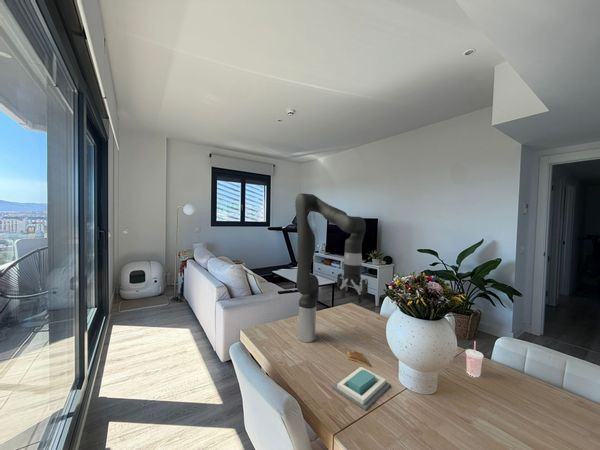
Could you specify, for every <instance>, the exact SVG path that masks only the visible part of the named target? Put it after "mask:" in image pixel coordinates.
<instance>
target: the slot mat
mask: <svg viewBox="0 0 600 450" xmlns="http://www.w3.org/2000/svg"><path fill="white" fill-rule="evenodd" d="M363 370H366V371H368V372H369V373H371V374H373V375H375V384H374V385H373V386H371V387H370V388H369V389H367V390H366V391H365V392H363V393H362V394H361V395H360V394H358V393H356V392H355V391H353V390H351V389H350V388H348V380H349V379H351V378H352V377H354V376H355V375H357V374H358V373H360V372H361V371H363ZM391 386H392V385H391V384H390V383H389V382H388V381H387V379H386V378H383V377H382V376H380V375H378V374H376V373H374V372H373V371H370V370H369V369H366V368H364V367H363V366H360V367H357V368H356V369H354V370H353V371H352V372H350V374H348V375H346V376H345V377H344V378H342V379H341V380H339V381H338V382H337V383H336V384H335V385H332V387H331V389H332V390H333V391H335V392H336V393H338V394H339V395H341V396H342V397H344V398H346V399H347V400H349V401H350V402H351V403H353V404H354V405H355V406H358V407H359V408H361V409H363V411H367V409H369V408H370V407H371V406H372V405H373V403H374V402H376V401H377V400H378V399H379V398H380V397H381V396H382V395H383V394H384V393H385V392H386V391H387V390H388V389H389V388H391Z"/></svg>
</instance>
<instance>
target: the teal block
mask: <svg viewBox="0 0 600 450" xmlns="http://www.w3.org/2000/svg"><path fill="white" fill-rule="evenodd" d="M368 371H369V370H368ZM368 371H366V370H363V371H361V372H360V373H358V374H357V375H355V376H354V377H352V378H351V379H349V380H348V388H350V389H351V390H353V391H355V392H356V393H358V394H360V395H361V394H362V393H363V392H365V391H366V390H367V389H369V388H370V387H371V386H373V385H374V384H375V375H373V374H371V373H369V372H368Z"/></svg>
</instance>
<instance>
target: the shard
mask: <svg viewBox="0 0 600 450" xmlns="http://www.w3.org/2000/svg"><path fill="white" fill-rule="evenodd" d="M347 355H348V359H347V360H350V361H354V362H356V363H359V364H360V365H363V366H366V367H371V363H370V362H369V361H368V360H367V358H366V357H365V354H363V353H362V352H361V351H359V350H353V351H352V350H350V351H349V350H348V351H347Z"/></svg>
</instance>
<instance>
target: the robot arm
mask: <svg viewBox="0 0 600 450" xmlns="http://www.w3.org/2000/svg"><path fill="white" fill-rule="evenodd" d="M294 203H295V205H294V207H295V216H296V226H297V227H296V228H297V230H296V231H297V234H296V235H297V240H296V241H297V245H296V246H297V247H296V248H297V270H296V271H297V273H296V289H297V291H298V293H299V294H301V297H300V298H299V299H298V315H297V316H298V317H297V318H296V335H295V336H296V337H297V339H298V340H299V341H300V342H303V343H311V342H314V341H315V340H316V329H317V327H316V326H317V325H316V324H317V303H318V299H319V292H320V283H319V279H318V277H317V276H316V275H315V274H313V273H311V267H312V262H313V260H314V256H315V254H316V236H315V233H314V230H313V229H312V227H311V225H310V222H309V219H308V213H310V212H313V213H318V214H320V215H321V216H322V217H323V218H324V219H325V220H327V221H328V222H330V223H332V224H334V225H335V226H337V227H338V228H340V230H342V231H343V232H344V233H347V234H350V236H349V237H348V238H346V239H345V242H344V255H343V272H340V273H338V274H337V279H336V281H337V282H336V287H337V288H339V289H340V297H341V298H342V299H345V298H346V292H347V291H346V290H347V289H346V287H351V288H354V289H355V291H357V293H358V294H357V303H358V304H361V303H362V302H363V301H364V295H365V294H368V292H369V287H368V285H369V282H368V281H369V280H368V278H362V276H361V275H362V267H363V266H362V264H363V263H362V261H363V255H362V244H363V240H364V237H365V234H366V229H367V228H366V227H367V226H366V225H367V224H366V220H365V219H364V218H363V217H361V216H351V215H348V213H347V212H346V211H344V210H341V209H339V208H337V207H335V206H332V205H330V204H329V203H327V202H325V201H323V200H322V199H320V197H318V196H316V195H314V194H312V193H301V192H300V193H299V194H297V195H296V197H295V201H294ZM343 280H344V281H343Z"/></svg>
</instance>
